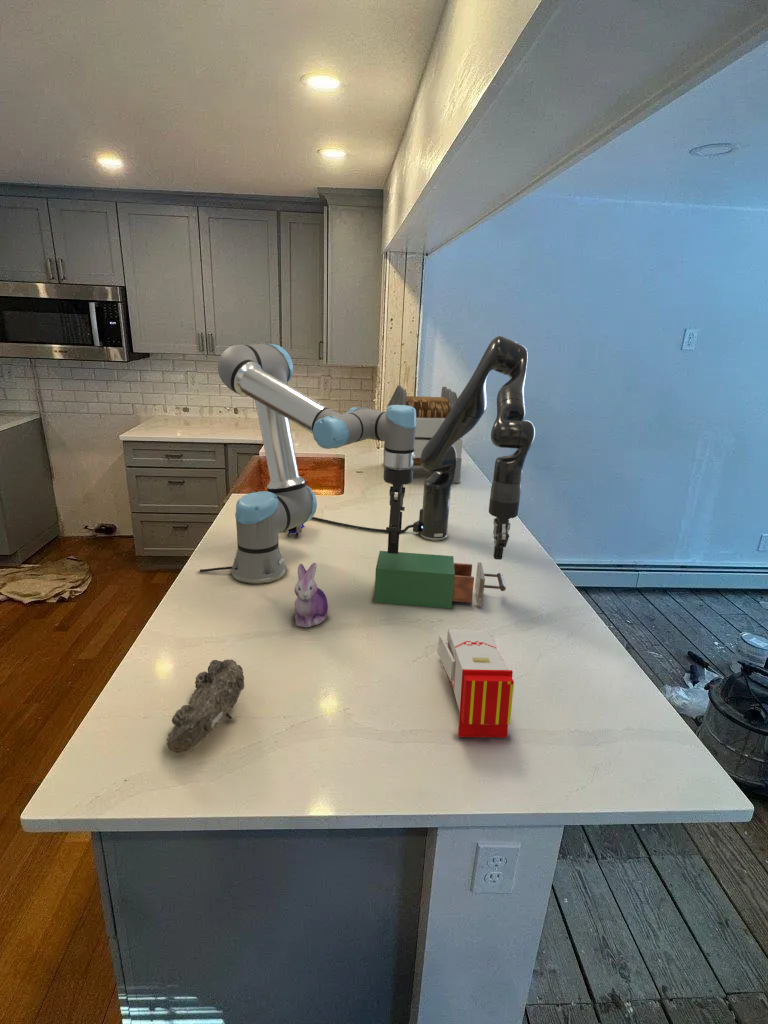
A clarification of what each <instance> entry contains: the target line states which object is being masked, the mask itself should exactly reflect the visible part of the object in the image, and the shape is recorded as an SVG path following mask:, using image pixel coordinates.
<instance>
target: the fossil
mask: <svg viewBox="0 0 768 1024" xmlns="http://www.w3.org/2000/svg"><path fill="white" fill-rule="evenodd" d="M243 670H244V669H243V667H242V665H240V664H237V662H236V661H235V660H234V659H232V658H231V659H227V658H226V659H224V660H223V661H222V660H217V659H212V660H211V661H210V663H209V665H208V666H207V671H201V672H199V673H198V674H197V675H196V676H195V680H194V684H195V685H194V687H195V689H194V690H193V693H192V694H191V697H190V698H189V700H188V704H184V705H182V706H181V707H180V709H177V710H176V711H175V713H174V715H173V716H172V718H171V723H172V724H173V727H172V730H171V731H170V732H168V734H167V738H166V741H167V742H166V745H167V749H168V750H169V751H173V752H174V753H176V754H178V753H182V752H188V751H189V752H192V751H193V750H195V748H196V747H197V746H199V744H200V743H201V742H203V741H204V740H205V739H206V738H207V737H208V736H209V735H210V734H211V733H212V732H214V730H215V729H217V727H218V726H219V724H220V722H221V721H222V720H223V719H224V718H225V716H226V717H227V719H229V720H233V717H232V715H230V714H229V710H230V709H231V708H234V706H235V704H236V703H237V702H238V699H239V697H240V695H241V693H242V691H243V690H245V689H244V688H245V675H244V671H243Z"/></svg>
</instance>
